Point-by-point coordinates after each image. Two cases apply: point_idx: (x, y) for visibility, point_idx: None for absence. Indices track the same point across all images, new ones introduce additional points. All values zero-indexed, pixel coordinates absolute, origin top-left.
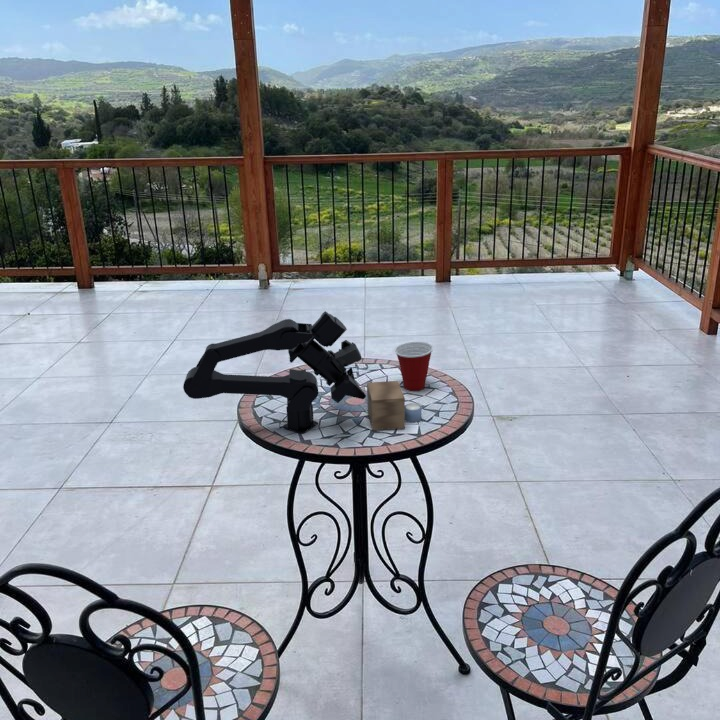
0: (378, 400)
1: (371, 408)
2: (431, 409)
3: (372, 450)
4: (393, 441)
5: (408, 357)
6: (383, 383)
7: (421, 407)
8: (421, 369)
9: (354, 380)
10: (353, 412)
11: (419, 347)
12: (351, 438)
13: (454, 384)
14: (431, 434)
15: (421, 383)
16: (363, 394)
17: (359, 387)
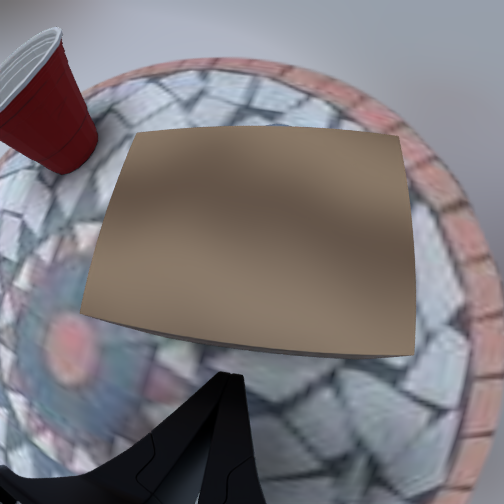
0: (413, 303)
1: (347, 356)
2: (226, 120)
3: (489, 374)
4: (448, 289)
5: (29, 81)
6: (131, 209)
7: (287, 125)
8: (72, 86)
9: (131, 472)
10: (152, 393)
11: (6, 78)
12: (391, 450)
13: (118, 76)
14: (405, 158)
15: (90, 121)
16: (245, 397)
17: (194, 427)
